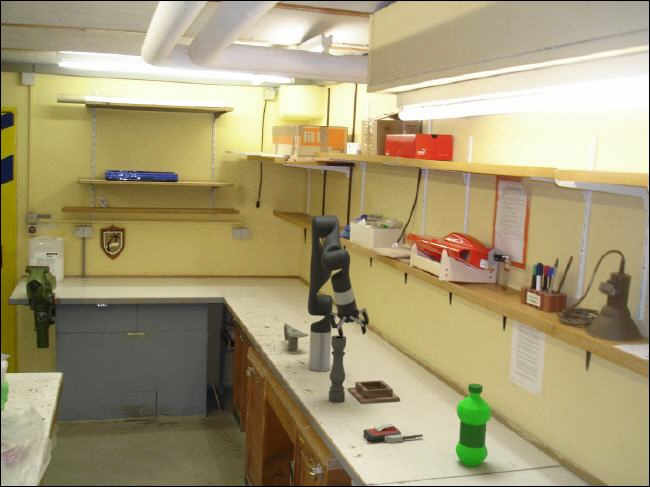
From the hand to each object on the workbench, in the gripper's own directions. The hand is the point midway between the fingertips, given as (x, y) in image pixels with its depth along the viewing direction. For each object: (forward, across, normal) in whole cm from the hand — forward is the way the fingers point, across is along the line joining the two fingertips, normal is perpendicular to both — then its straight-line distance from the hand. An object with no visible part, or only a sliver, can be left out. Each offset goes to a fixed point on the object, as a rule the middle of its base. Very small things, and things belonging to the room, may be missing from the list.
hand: (353, 334), depth 281 cm
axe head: (+40, +44, -55) cm, 81 cm away
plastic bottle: (+16, -40, +56) cm, 71 cm away
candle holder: (+23, +10, +10) cm, 27 cm away
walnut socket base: (+28, -3, +2) cm, 28 cm away
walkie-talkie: (+16, -14, +42) cm, 47 cm away
